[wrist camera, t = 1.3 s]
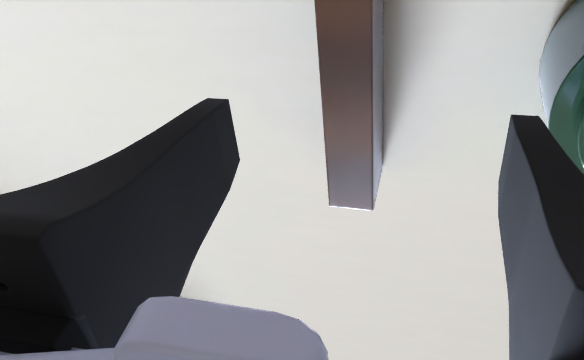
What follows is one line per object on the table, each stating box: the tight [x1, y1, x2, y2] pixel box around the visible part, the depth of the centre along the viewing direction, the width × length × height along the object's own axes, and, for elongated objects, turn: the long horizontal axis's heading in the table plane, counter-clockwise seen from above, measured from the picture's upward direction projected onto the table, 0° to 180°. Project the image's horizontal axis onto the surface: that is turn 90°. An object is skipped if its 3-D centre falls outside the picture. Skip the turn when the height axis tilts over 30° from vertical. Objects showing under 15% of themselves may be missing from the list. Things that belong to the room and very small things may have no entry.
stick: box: [315, 0, 383, 211], centre depth 21 cm, size 14×2×3 cm, turn 5°
